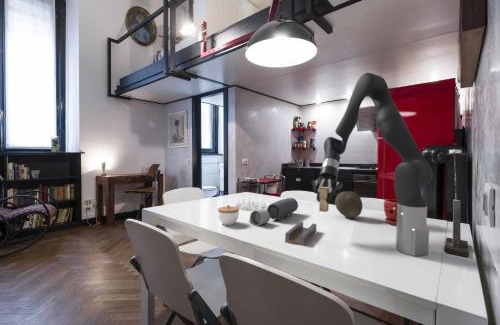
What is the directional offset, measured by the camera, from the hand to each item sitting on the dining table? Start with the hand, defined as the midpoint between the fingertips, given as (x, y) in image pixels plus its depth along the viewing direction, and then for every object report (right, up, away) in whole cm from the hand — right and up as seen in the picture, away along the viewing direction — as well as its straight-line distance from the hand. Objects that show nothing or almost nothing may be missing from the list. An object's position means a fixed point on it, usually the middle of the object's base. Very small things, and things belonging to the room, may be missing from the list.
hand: (323, 201), depth 103 cm
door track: (-8, -16, +4) cm, 18 cm away
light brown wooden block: (+1, -4, +2) cm, 5 cm away
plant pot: (+46, -16, +24) cm, 54 cm away
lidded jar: (-42, -15, +23) cm, 50 cm away
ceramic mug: (-27, -15, +23) cm, 38 cm away
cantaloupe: (+25, -15, +36) cm, 47 cm away
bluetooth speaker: (-12, -15, +37) cm, 41 cm away
